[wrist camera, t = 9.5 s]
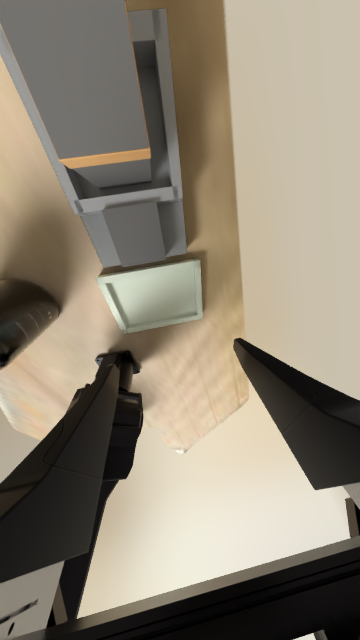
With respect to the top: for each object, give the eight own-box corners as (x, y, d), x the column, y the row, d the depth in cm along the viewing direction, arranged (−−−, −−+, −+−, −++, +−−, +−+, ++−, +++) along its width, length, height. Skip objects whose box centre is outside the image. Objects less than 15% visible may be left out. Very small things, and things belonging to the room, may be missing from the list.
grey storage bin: (184, 251, 17) (190, 256, 14) (108, 264, 16) (96, 272, 13) (165, 66, 10) (169, -15, 7) (31, 80, 9) (-35, 0, 6)
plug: (152, 182, 12) (150, 149, 7) (100, 190, 12) (58, 160, 7) (136, 89, 9) (112, -77, 4) (67, 96, 9) (-43, -72, 4)
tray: (200, 314, 23) (202, 318, 22) (124, 329, 22) (123, 334, 21) (197, 258, 18) (200, 259, 17) (99, 275, 17) (95, 278, 16)
